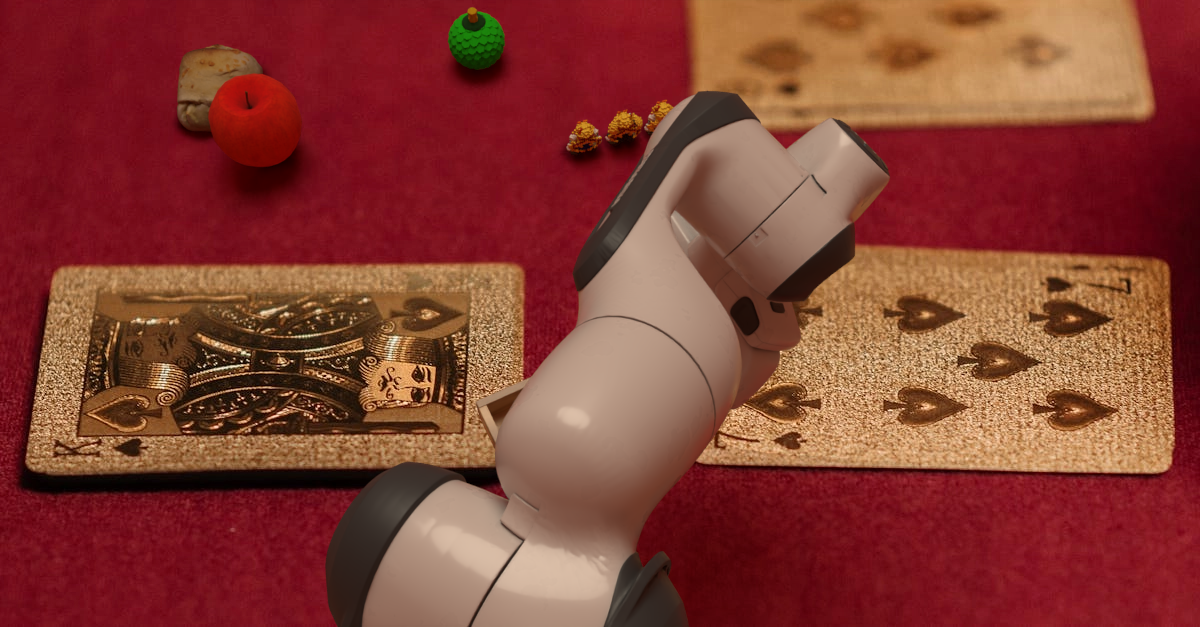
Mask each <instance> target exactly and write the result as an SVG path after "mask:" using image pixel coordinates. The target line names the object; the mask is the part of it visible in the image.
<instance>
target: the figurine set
mask: <svg viewBox="0 0 1200 627" xmlns="http://www.w3.org/2000/svg"><path fill="white" fill-rule="evenodd" d="M667 102H668V99H663V100H661V101H660V100H659V101H658V100H657V101H656V104H655V105H654V106H652V107H651V112H650V114H649V115H648V117H647V123H645V126H644V125H643V124H644V122H643V119H642V116H639V115H638V114H635V112H629V113H628V111H629V110H628V108H627V109H626V108H625V109H624V110H618V111H617V112H616V115H615V116H614V117H613V120H612V121H611V122H610V123H608V127H607V129H608V130H607V133H606V136H605V137H604V138H605V141H606V142H607V143H608V144H609V145H610V146H611V147H612V146H613V147H616V146H617V147H618V146H619V145H620V144H621V143H624V142H625V141H626V142H628V143H632V142H634V141H635V140H636V138H637V137H638V136H639V135H640V134H641V132H642V128H643V129H644V131H645V133H646V134H647V135H648V136H650V137H651V135H652V134H653V132H654V130H655V129H656V127H657V126H658V124H659V123H660V122H661V121H662V119H663V118H664V117H665V116H666V115H667V114H668V113H669V112H670V111H671V110H672V109H673V108H674V106H672V105H671V104H670V103H667ZM643 126H644V127H643ZM568 141H569V142H568V143H567V146H566V147H565V148H566V150H567V151H568V153H569V154H570V155H572V156H574V157H576V156H578V157H579V156H580V155H581V154H582V153H585V152H586V151H587V152H589V153H593V152H596V150H597V149H598V146H599V145H601V144H602V142H603V137H602V136H601V135H599V129H597V128H596V127H595V126H594V125H593V124H591V123H588V119H583V120H580V121H578V120H577V121H576V126H575V128H574V129H573V131H571V134H570V135H569V136H568Z"/></svg>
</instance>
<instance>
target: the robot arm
mask: <svg viewBox="0 0 1200 627" xmlns="http://www.w3.org/2000/svg"><path fill="white" fill-rule="evenodd" d="M890 180H891V175H890V172H889V168H888V165H887V164H886V162H885V161H884V160H883V159H882V158H881V157H880V156H879V155H878V154H877V152H875V150H874V149H873V148H872V147H871V146H870V145H868V143H867V142H866V141H865V140H864V139H863V138H861V136H860V135H859V134H858V133H857V132H856V131H855V130H854V129H852V127H851V126H850V125H848V124H847V123H846V122H845V121H843V120H841V119H838V118H834V117H828V118H825V119H824V120H823V121H821V122H820V123H818V124H817V125H815V126H814V127H812V128H811V129H810V130H809V131H807V132H806V133H805V134H803V135H802V136H801V137H800V138H798V139H797V140H795V141H794V142H793V143H792V144H791V145H789V146H788V147H787V148H786V147H785V146H783V144H781V143H780V141H778V139H776V137H774V135H773V134H772V133H770V131H768V129H767V128H766V127H765V126H764V125H762V122H761V120H760V118H759V117H757V115H756V114H755V113H754V112H753V111H752V109H751V108H750V107H749V105H747V103H746V102H745V101H744V100H743V98H742V97H741V96H740V95H739V94H738V93H735V92H728V91H721V90H720V91H719V90H701V91H697V92H696V93H695V94H692V95H690V96H688V97H686V98H684V99H683V100H681V101H680V102H678V103H677V104H675V105H674V106H673V109H672V110H671V111H670V112H669V113H668V114H667V115H666V116H665V117H664V118H663V119H662V121H661V122H660V123H659V124H658V126H657V127H656V129H655V130H654V132H653V134H652V135H651V136H650V137H649V139H648V142H647V144H646V147H645V149H644V152H643V153H642V155H641V157H639V160H638V162H637V164H636V165H635V167H634V169H633V170H632V172H631V174H630V175H629V176H628V177H627V179H626V180H625V182H624V183H623V185H622V187H621V188H620V189H619V190H618V192H617V193H616V195H615V197H614V198H613V199H612V201H611V203H610V204H609V205H608V206H607V208H606V209H605V211H604V213H603V214H602V216H601V217H600V218H599V220H598V221H597V223H596V225H595V226H594V227H593V229H592V231H591V232H590V234H589V235H588V237H587V238H586V240H585V242H584V243H583V246H582V248H581V249H580V252H579V253H578V256H577V257H576V261H575V263H574V266H573V270H572V277H573V281H574V285H575V289H576V292H577V293H578V312H577V321H576V325H575V327H574V328H573V330H571V332H569V333H568V334H567V335H566V336H565V337H564V338H563V339H562V340H561V341H560V342H559V343H558V344H557V345H556V346H555V347H554V349H552V351H551V352H550V353H549V354H548V355H547V356H546V358H545V359H543V361H542V362H541V364H540V365H539V366H538V367H537V369H536V370H535V371H534V373H533V374H532V375H531V376H530V377H531V378H530V377H529V378H530V379H529V381H528V382H527V383H526V385H525V386H524V388H523V389H522V391H521V392H520V394H519V395H518V397H517V398H516V400H515V401H514V403H513V405H512V406H511V408H510V410H509V411H508V413H507V415H506V416H505V418H504V420H503V422H502V424H501V427H500V429H499V431H498V435H497V439H496V444H495V449H494V464H495V470H496V474H497V478H498V480H499V483H500V486H501V488H502V490H503V492H504V495H505V496H506V498H505V497H502V496H500V495H498V494H495V493H493V492H492V491H491V492H490V491H488V490H486V489H484V488H482V487H479V486H476V485H473V484H470V483H467V480H466V478H465V477H464V475H462V474H460V473H458V472H456V471H453V470H451V469H446V468H443V467H440V466H438V465H437V466H436V465H434V464H429V463H424V462H418V461H403V462H401V463H399V464H396V465H394V466H392V467H390V468H388V469H386V470H384V471H383V472H381V473H379V474H377V475H376V476H375V477H374V478H372V479H371V480H370V481H369V482H368V483H367V484H366V485H365V486H364V487H363V488H362V489H361V490H360V491H359V493H358V494H357V495H356V496H355V497H354V499H353V500H352V502H351V503H350V505H348V507H347V508H346V510H345V512H344V513H343V515H342V517H341V518H340V520H339V522H338V524H337V525H336V527H335V530H334V532H333V534H332V536H331V539H330V542H329V544H328V547H327V552H326V554H325V562H324V563H325V565H324V566H325V569H324V570H325V583H326V584H325V586H326V596H327V606H328V609H329V612H330V614H331V616H332V618H333V621H334V623H335V625H336V627H690V624H689V619H688V615H687V610H686V608H685V607H686V606H685V603H684V601H683V599H682V597H681V596H680V593H679V592H678V590H677V588H676V587H675V586H674V584H673V582H672V581H671V579H670V577H669V575H670V572H671V569H672V560H671V559H670V557H669V556H668V554H667V553H665V551H663V550H661V551H658V552H656V553H655V554H654V555H653V557H651V558H650V560H648V562H647V563H646V564H645V566H644V565H643V562H642V560H641V556H640V553H639V551H637V547H638V544H639V541H640V538H641V534H642V531H643V529H644V526H645V524H646V522H647V520H648V519H649V517H650V516H651V514H652V513H653V511H654V510H655V508H656V507H657V505H659V503H660V502H661V501H662V499H663V498H664V497H665V496H666V495H667V494H668V492H670V491H671V490H672V489H673V487H674V486H675V485H676V484H677V483H678V482H679V481H680V480H681V479H682V478H683V477H684V476H685V474H686V473H687V472H688V471H689V470H690V469H691V468H692V467H693V465H694V464H695V462H697V460H698V459H699V457H700V456H701V455H702V454H703V453H704V451H705V450H706V448H707V447H709V444H710V443H711V442H712V440H713V439H714V438H715V436H716V435H717V433H718V432H719V430H720V429H721V427H722V425H723V424H724V422H725V421H726V419H727V417H728V415H729V414H730V411H731V410H736V409H738V408H740V407H742V406H743V405H744V404H745V403H747V402H748V401H749V400H750V399H751V398H752V397H753V396H754V395H755V394H756V393H757V392H758V391H760V389H761V388H762V387H763V386H764V385H765V384H766V383H767V382H768V381H769V379H770V378H771V377H772V376H773V375H774V373H775V372H776V370H777V369H778V366H779V364H780V360H781V352H783V351H790V350H792V349H794V348H796V346H798V345H799V343H801V341H802V333H801V328H800V326H799V322H798V320H797V315H796V312H795V308H794V305H793V303H796V302H797V303H799V302H806V301H807V300H808V299H809V297H811V295H812V294H813V292H814V291H815V290H816V289H817V288H818V287H819V286H821V284H823V282H825V281H826V280H828V279H829V278H830V277H831V276H833V275H834V274H835V273H836V272H838V271H840V270H841V269H842V268H844V266H846V265H848V263H850V262H851V261H852V260H854V258H855V257H856V225H855V222H856V221H857V220H858V219H859V218H860V217H861V216H862V215H863V213H865V212H866V210H868V208H869V207H870V206H871V204H873V203H874V202H875V200H876V199H877V198H878V197H879V195H880V194H881V193H882V191H883V190H884V189H885V188H886V187H887V185H888V183H889V182H890Z"/></svg>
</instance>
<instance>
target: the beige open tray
mask: <svg viewBox="0 0 1200 627" xmlns="http://www.w3.org/2000/svg"><path fill="white" fill-rule="evenodd" d="M531 377H532V376H529V377H527V378H525V379H522V380H521V381H518V382H517V383H514V384H512V385H510V386H507V387H505V388H502V389H501V390H498V391H496V392H493V393H491V394H489V395H487V396H484V397H483V398H480V399H478V400H475V406H476V409H477V414H478V416H479V420H480V422H481V424H482V426H483V428H484V430H485V432H486V434H487V436H488V438H489V440H490V442H491V444H492V446H493V449H494V450H495V444H496V439H497V435H498V431H499V429H500V427H501V424H502V422H503V420H504V418H505V416H506V415H507V413H508V411H509V410H510V408H511V406H512V405H513V403H514V401H515V400H516V398H517V397H518V395H519V394H520V392H521V391H522V389H523V388H524V386H525V385H526V383H527V382H528V381H529V379H530V378H531Z"/></svg>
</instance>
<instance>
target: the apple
mask: <svg viewBox="0 0 1200 627" xmlns="http://www.w3.org/2000/svg"><path fill="white" fill-rule="evenodd" d="M208 119H209V123H210V128H211V131H210V132H211V135H212V138H213V140H214V142H215V144H216V146H218V147H219V149H220V150H221V151H222V153H224V154H225V155H226V157H228V158H229V159H231V160H232V161H234V162H236V163H238V164H240V165H243V166H247V167H256V168H266V167H267V168H268V167H272V166H275V165H279V164H281V163H282V162H284V161H286V160H287V159H288V158H289V157H290V156H291V155H293V152H294V151H295V149H296V148H297V146H298V143H299V141H300V139H301V135H302V128H303V126H302V125H303V120H302V115H301V111H300V108H299V105H298V102H297V100H296V97H295V95H294V94H293V92H291V90H290V89H289V88H288V87H286V85H285V84H283V83H282V82H281V81H279V80H277V79H275V78H273V77H272V76H269V75H267V74H264V73H263V74H254V73H253V74H247V75H241V76H235V77H233V78H232V79H230V80H228V81H226V82H225V83H224V84H223V85H222V86H221V87H220V88H219V89H218V90H217V93H216V95H215V97H214V99H213V101H212V104H211V106H210V109H209V115H208Z"/></svg>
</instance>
